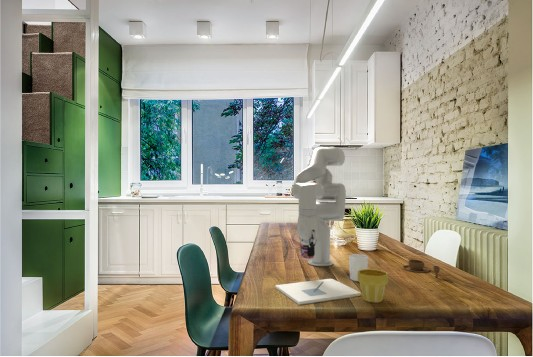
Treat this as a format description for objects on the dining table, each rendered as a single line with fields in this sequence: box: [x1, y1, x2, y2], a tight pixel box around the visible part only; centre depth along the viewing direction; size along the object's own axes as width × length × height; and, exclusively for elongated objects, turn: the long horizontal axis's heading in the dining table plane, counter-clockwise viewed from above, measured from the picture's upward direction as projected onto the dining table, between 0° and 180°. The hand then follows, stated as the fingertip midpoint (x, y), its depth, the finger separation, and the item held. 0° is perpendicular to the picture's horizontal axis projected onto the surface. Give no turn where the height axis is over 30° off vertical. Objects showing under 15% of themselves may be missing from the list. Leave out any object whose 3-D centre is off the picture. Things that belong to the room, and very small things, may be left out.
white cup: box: [348, 253, 369, 282], centre depth 152 cm, size 8×8×10 cm
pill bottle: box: [300, 238, 314, 261], centre depth 153 cm, size 5×5×10 cm
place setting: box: [397, 259, 441, 279], centre depth 164 cm, size 18×20×6 cm
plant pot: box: [357, 268, 389, 303], centre depth 126 cm, size 10×10×10 cm
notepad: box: [274, 278, 362, 306], centre depth 135 cm, size 20×26×1 cm
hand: (307, 253), depth 153 cm, fingers closed on pill bottle, 5 cm apart
